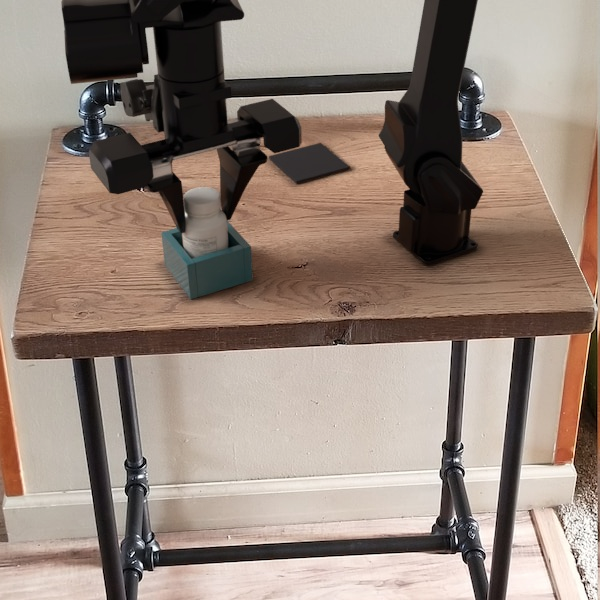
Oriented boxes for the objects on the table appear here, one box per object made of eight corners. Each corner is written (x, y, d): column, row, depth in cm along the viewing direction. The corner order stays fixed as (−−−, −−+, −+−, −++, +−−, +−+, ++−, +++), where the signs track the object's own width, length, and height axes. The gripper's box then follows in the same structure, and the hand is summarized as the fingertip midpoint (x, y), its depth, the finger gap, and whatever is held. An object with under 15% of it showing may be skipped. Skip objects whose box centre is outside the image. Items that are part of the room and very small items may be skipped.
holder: (224, 248, 101) (222, 214, 98) (252, 280, 96) (251, 246, 94) (164, 266, 98) (160, 232, 96) (190, 299, 94) (187, 265, 91)
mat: (320, 145, 119) (320, 142, 119) (349, 169, 114) (349, 166, 114) (268, 159, 116) (268, 156, 116) (296, 184, 111) (296, 181, 111)
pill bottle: (204, 247, 99) (198, 179, 95) (238, 260, 97) (234, 191, 92) (175, 267, 96) (168, 198, 92) (211, 281, 94) (205, 211, 90)
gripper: (248, 21, 94) (255, 166, 103) (58, 59, 87) (83, 211, 96) (303, 60, 86) (305, 214, 95) (98, 106, 79) (122, 267, 88)
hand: (204, 224), depth 94 cm, fingers closed on pill bottle, 4 cm apart
